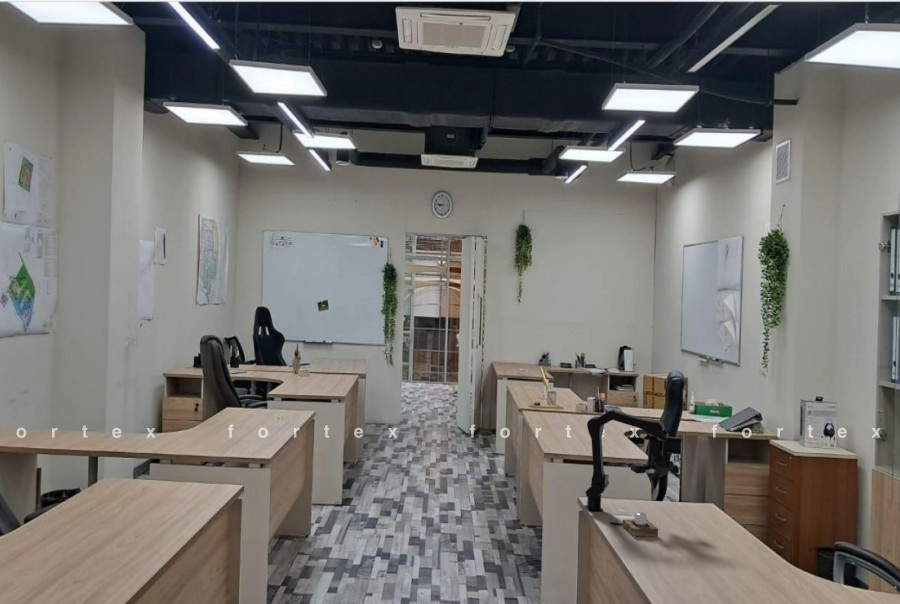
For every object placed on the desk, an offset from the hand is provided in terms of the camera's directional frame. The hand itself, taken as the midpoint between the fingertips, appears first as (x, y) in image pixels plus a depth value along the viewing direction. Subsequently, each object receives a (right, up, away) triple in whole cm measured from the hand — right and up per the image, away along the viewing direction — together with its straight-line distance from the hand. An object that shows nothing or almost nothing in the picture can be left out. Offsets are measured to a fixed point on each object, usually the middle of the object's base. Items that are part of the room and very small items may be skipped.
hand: (653, 488), depth 260 cm
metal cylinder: (-10, -13, -13) cm, 21 cm away
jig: (-10, -13, -13) cm, 21 cm away
